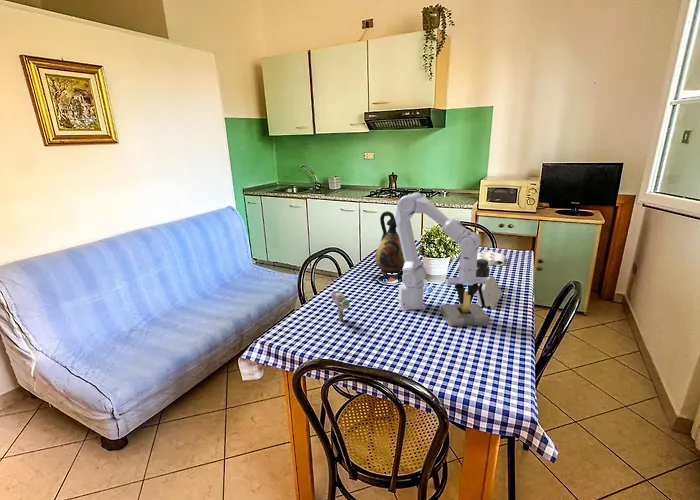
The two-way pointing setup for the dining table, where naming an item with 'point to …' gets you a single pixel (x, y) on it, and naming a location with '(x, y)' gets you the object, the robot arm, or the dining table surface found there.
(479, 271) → the supplement bottle
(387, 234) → the ceramic jug
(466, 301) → the wood grain block
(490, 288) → the white angular device
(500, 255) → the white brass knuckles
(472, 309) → the grey slotted plate
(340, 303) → the mechanical component
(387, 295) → the dining table surface
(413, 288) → the robot arm
